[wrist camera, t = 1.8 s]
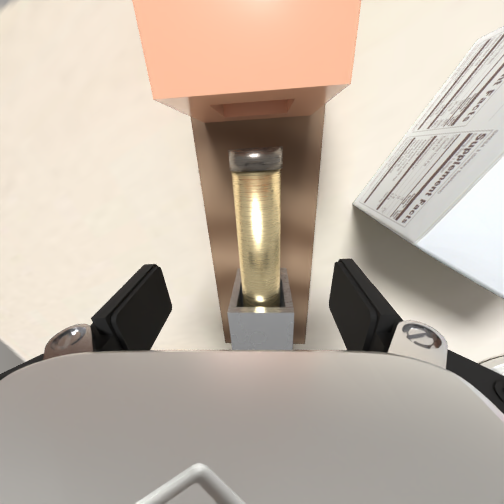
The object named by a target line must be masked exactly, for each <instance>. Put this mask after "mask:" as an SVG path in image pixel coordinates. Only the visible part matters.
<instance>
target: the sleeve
mask: <svg viewBox="0 0 504 504" xmlns="http://www.w3.org/2000/svg"><path fill="white" fill-rule="evenodd" d="M227 314H228V321H229V328H230V336H231V343H232V350H292V349H293V329H294V308H293V303H292V297H291V291H290V286H289V280H288V274H287V269H286V268H280V307H244V306H243V295H242V284H241V273H240V268H239V269H238V270H237V274H236V278H235V282H234V286H233V291H232V295H231V299H230V303H229V308H228V312H227Z"/></svg>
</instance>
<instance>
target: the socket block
mask: <svg viewBox="0 0 504 504" xmlns="http://www.w3.org/2000/svg"><path fill="white" fill-rule="evenodd" d="M132 1H133V6H134V10H135V15H136V20H137V24H138V29H139V34H140V38H141V43H142V48H143V52H144V57H145V62H146V66H147V71H148V76H149V80H150V85H151V90H152V94H153V99H154V100H156V101H158V102H160V103H162V104H164V105H167V106H169V107H171V108H173V109H175V110H178V111H180V112H182V113H184V114H186V115H188V116H191V117H193V118H195V119H197V120H199V121H201V122H204V123H209V122H223V121H238V120H252V119H266V118H281V117H295V116H309V115H312V114H313V113H314V112H315V111H317V110H318V109H319V108H321V107H322V106H323V105H324V104H326V103H327V102H328V101H329V100H331V99H332V98H333V97H334V96H336V95H337V94H338V93H340V92H341V91H342V90H343V89H345V88H346V87H347V86H348V85H350V84H351V77H352V69H353V62H354V54H355V46H356V38H357V30H358V22H359V14H360V6H361V0H132Z"/></svg>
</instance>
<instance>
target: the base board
mask: <svg viewBox="0 0 504 504" xmlns="http://www.w3.org/2000/svg"><path fill="white" fill-rule="evenodd" d="M324 113H325V104H324V105H323V106H322V107H321V108H319V109H318V110H317V111H315V112H314V113H313V114H312V115H309V116H295V117H281V118H266V119H252V120H238V121H223V122H209V123H204V122H201V121H199V120H197V119H195V118H193V117H191V122H192V129H193V135H194V142H195V148H196V155H197V161H198V168H199V174H200V181H201V187H202V194H203V200H204V207H205V213H206V220H207V226H208V233H209V239H210V246H211V252H212V258H213V265H214V271H215V278H216V284H217V291H218V297H219V304H220V310H221V317H222V323H223V330H224V336H225V343H231V336H230V328H229V321H228V314H227V312H228V308H229V303H230V299H231V295H232V291H233V286H234V282H235V278H236V274H237V270H238V269H239V268H240V261H239V250H238V239H237V228H236V217H235V206H234V195H233V183H232V172H231V171H230V168H229V157H228V150H231V149H245V148H261V147H283V168H281V223H280V268H286V269H287V274H288V280H289V286H290V291H291V297H292V303H293V308H294V329H293V344H305V335H306V323H307V311H308V300H309V288H310V276H311V265H312V253H313V241H314V230H315V218H316V206H317V195H318V183H319V171H320V160H321V148H322V136H323V125H324Z"/></svg>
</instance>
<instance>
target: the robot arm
mask: <svg viewBox="0 0 504 504" xmlns="http://www.w3.org/2000/svg"><path fill="white" fill-rule="evenodd" d="M329 308H330V311H331V313H332V315H333V318H334V320H335V322H336V325H337V327H338V329H339V332H340V334H341V336H342V339H343V341H344V343H345V346H346V348H347V350H150V349H151V347H152V345H153V344H154V342H155V340H156V338H157V336H158V334H159V333H160V331H161V329H162V327H163V325H164V323H165V322H166V320H167V318H168V316H169V314H170V312H171V310H172V304H171V300H170V297H169V294H168V290H167V287H166V284H165V280H164V277H163V273H162V270H161V268H160V267H158V266H157V265H156V264H146V265H143V266H142V267H141V268H140V269H139V270H138V271H137V272H136V273H135V274H134V275H133V276H132V277H131V278H130V279H129V280H128V282H127V283H126V284H125V285H124V286H123V287H122V288H121V289H120V290H119V291H118V292H117V293H116V294H115V295H114V296H113V297H112V298H111V299H110V300H109V301H108V302H107V303H106V304H105V305H104V306H103V307H102V308H101V309H100V310H99V311H98V312H97V313H96V314H95V315H94V316H93V317H92V318H91V319H92V321H93V323H92V324H91V326H89V325H87V324H78V325H74V326H71V327H68V328H66V329H64V330H62V331H61V332H59V333H57V334H56V335H55V336H54V337H52V338H51V339H50V340H49V342H48V343H47V344H46V347H45V351H44V354H42V355H39V356H37V357H35V358H33V359H31V360H29V361H27V362H25V363H23V364H21V365H18V366H16V367H14V368H12V369H10V370H8V371H6V372H4V373H2V374H0V504H504V356H502V357H499V358H495V359H492V360H489V361H486V362H484V363H481V364H478V363H476V362H473V361H471V360H469V359H467V358H465V357H463V356H461V355H459V354H456V353H454V352H452V351H450V350H448V345H447V341H446V340H445V338H444V337H443V336H442V335H441V334H440V333H439V332H438V331H437V330H435V329H434V328H432V327H430V326H428V325H426V324H424V323H421V322H417V321H411V320H407V321H403V320H402V319H401V317H400V316H399V315H398V314H397V313H396V311H395V310H394V309H393V308H392V306H391V305H390V304H389V303H388V302H387V300H386V299H385V298H384V297H383V295H382V294H381V293H380V292H379V291H378V289H377V288H376V287H375V286H374V285H373V284H372V283H371V282H370V280H369V279H368V278H367V277H366V276H365V274H364V273H363V272H362V271H361V269H360V268H359V267H358V266H357V265H356V263H355V262H354V261H353V260H352V259H339V261H338V262H335V266H334V273H333V279H332V286H331V293H330V299H329Z"/></svg>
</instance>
